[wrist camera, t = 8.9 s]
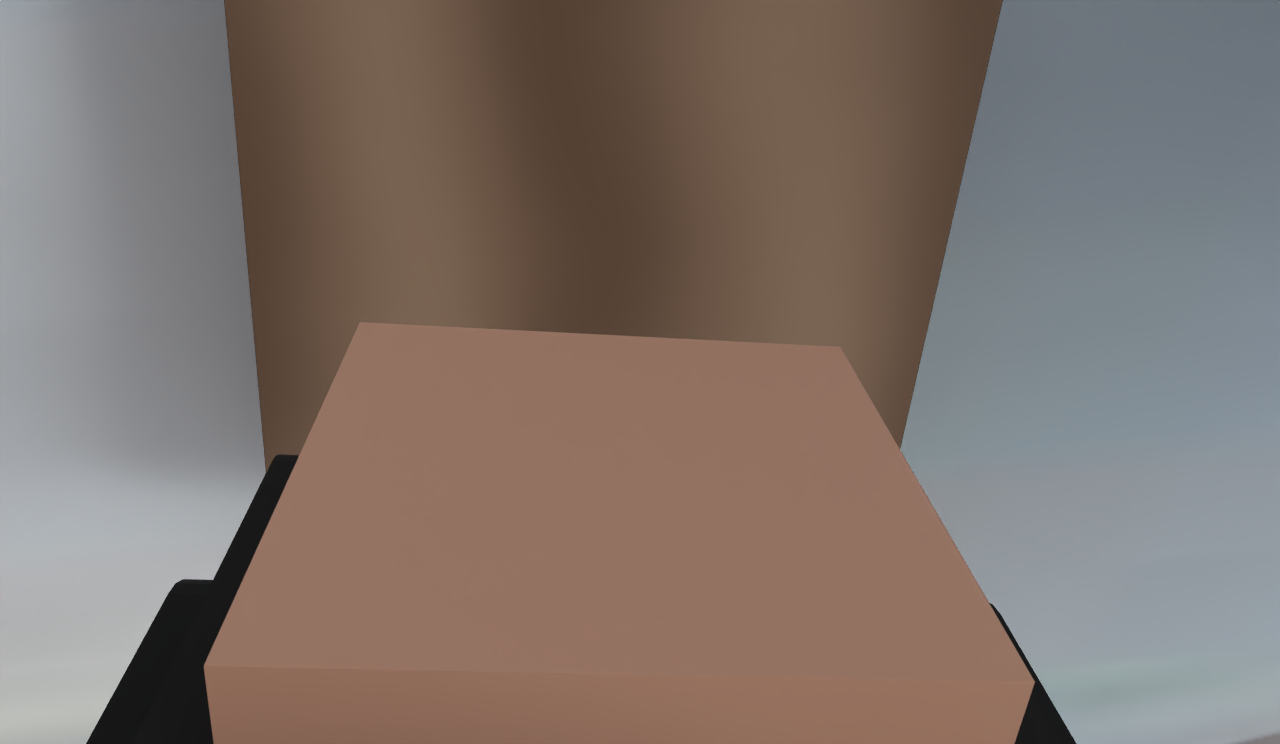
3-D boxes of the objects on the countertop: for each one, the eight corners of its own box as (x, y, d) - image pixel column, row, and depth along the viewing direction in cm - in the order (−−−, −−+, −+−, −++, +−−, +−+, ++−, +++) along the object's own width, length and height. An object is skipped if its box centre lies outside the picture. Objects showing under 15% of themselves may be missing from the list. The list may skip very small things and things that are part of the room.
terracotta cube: (840, 346, 11) (1035, 681, 6) (773, 702, 13) (882, 1138, 9) (360, 322, 10) (203, 667, 6) (373, 696, 12) (267, 1154, 8)
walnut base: (930, -55, 19) (1011, -38, 16) (826, 479, 25) (869, 584, 21) (285, -114, 18) (214, -109, 15) (320, 458, 24) (274, 563, 20)
